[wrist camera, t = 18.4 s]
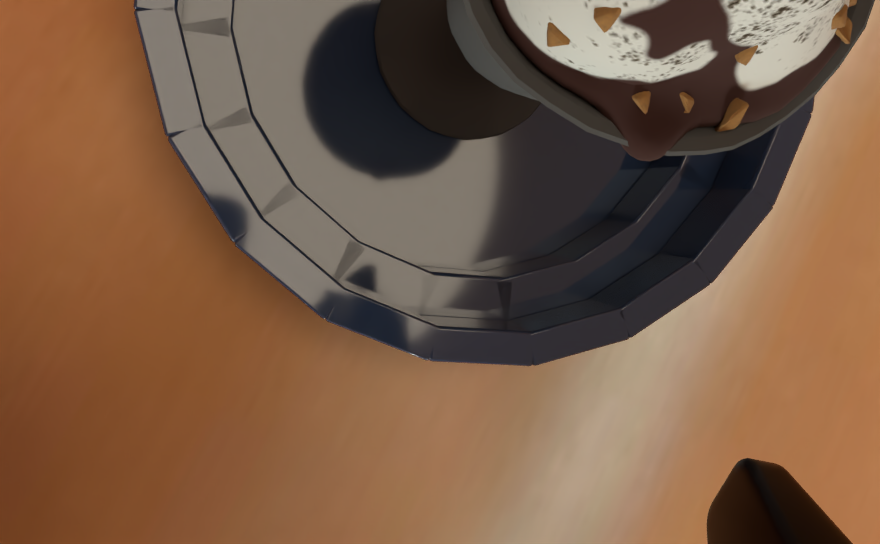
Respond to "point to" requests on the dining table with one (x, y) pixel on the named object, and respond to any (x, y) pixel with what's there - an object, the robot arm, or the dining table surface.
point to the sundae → (615, 65)
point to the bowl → (437, 192)
